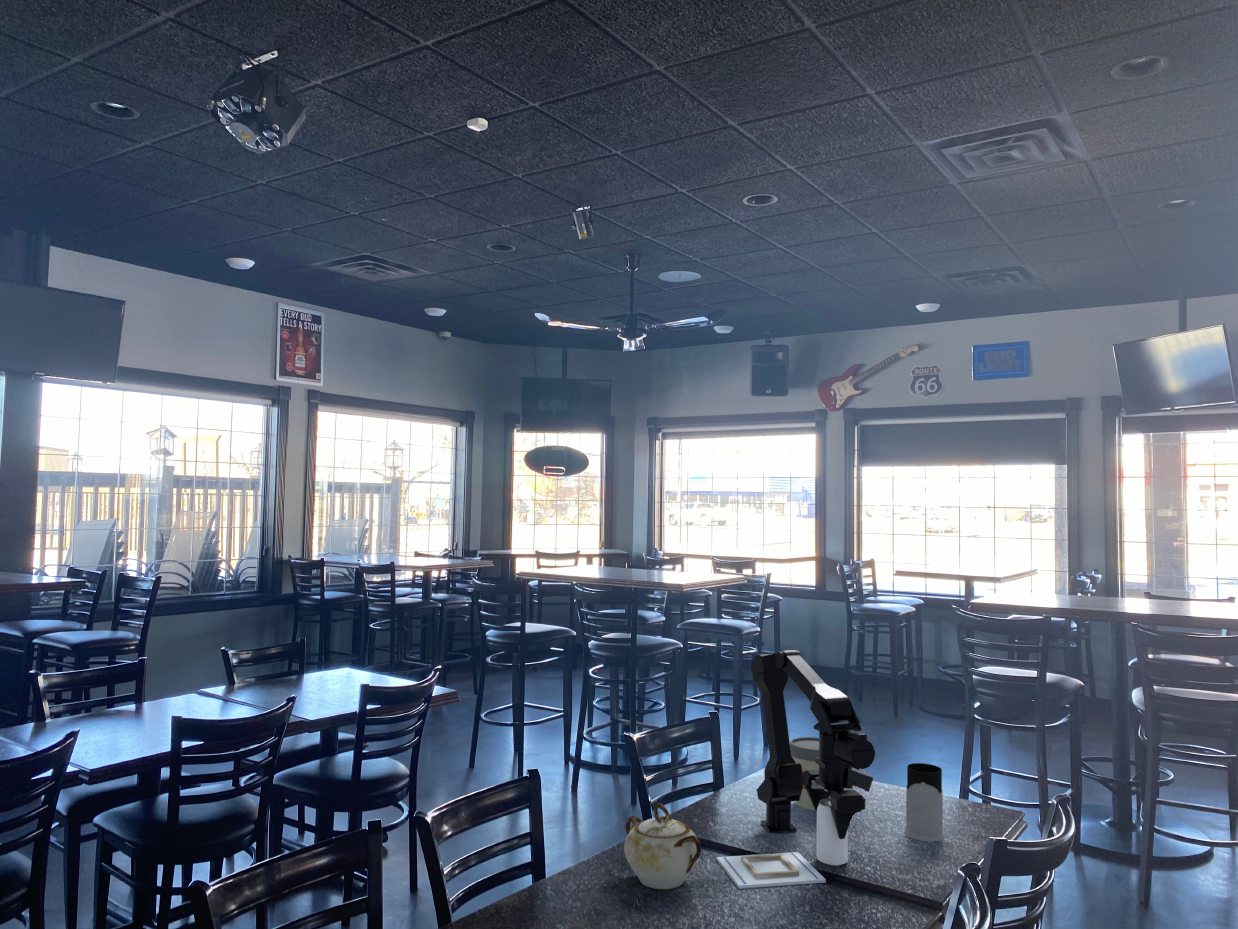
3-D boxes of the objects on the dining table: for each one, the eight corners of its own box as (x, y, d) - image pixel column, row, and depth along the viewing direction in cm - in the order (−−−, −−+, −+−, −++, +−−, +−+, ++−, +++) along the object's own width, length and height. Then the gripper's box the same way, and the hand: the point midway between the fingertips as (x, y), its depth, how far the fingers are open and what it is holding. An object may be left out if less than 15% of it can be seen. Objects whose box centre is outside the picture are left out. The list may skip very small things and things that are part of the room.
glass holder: (902, 838, 202) (902, 770, 203) (907, 818, 215) (907, 754, 216) (943, 844, 199) (943, 775, 200) (946, 823, 212) (946, 759, 213)
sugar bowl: (599, 876, 179) (600, 799, 179) (650, 856, 189) (651, 784, 190) (673, 909, 165) (674, 826, 166) (724, 885, 175) (725, 807, 176)
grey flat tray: (716, 860, 188) (716, 856, 188) (797, 855, 191) (797, 851, 191) (738, 888, 174) (739, 885, 174) (825, 882, 178) (825, 878, 178)
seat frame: (741, 860, 186) (741, 856, 186) (782, 858, 188) (782, 854, 188) (756, 878, 177) (756, 874, 177) (799, 875, 179) (799, 871, 179)
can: (848, 868, 185) (849, 809, 185) (816, 865, 186) (817, 806, 187) (847, 856, 191) (847, 799, 192) (816, 853, 192) (816, 796, 193)
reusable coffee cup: (834, 816, 216) (834, 752, 216) (782, 807, 221) (783, 746, 222) (844, 800, 227) (845, 740, 228) (795, 793, 233) (796, 734, 233)
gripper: (889, 767, 182) (889, 845, 181) (848, 742, 200) (847, 813, 200) (838, 769, 180) (837, 848, 179) (801, 744, 198) (800, 816, 198)
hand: (832, 830), depth 189 cm, fingers open, 9 cm apart
